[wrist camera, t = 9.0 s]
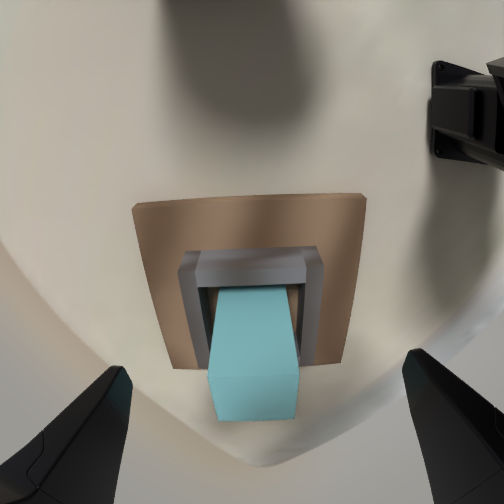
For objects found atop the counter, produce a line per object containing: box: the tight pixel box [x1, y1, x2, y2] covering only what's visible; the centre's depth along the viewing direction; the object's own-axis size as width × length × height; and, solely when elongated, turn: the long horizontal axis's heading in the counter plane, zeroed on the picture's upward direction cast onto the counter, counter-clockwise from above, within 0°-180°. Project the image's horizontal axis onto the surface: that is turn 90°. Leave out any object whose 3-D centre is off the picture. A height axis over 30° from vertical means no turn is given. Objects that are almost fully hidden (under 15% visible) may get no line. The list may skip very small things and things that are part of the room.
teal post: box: [207, 284, 299, 421], centre depth 17 cm, size 4×4×8 cm
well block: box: [132, 193, 367, 370], centre depth 20 cm, size 14×14×4 cm
